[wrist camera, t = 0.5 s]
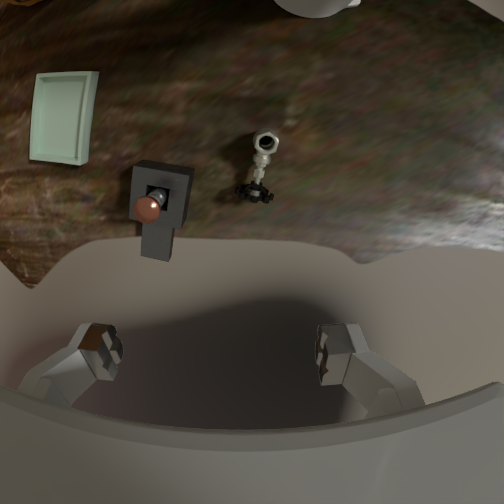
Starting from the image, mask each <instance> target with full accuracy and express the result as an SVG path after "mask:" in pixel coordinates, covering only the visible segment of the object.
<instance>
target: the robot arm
mask: <svg viewBox="0 0 504 504" xmlns="http://www.w3.org/2000/svg"><path fill="white" fill-rule="evenodd" d="M274 1H275V2H276V3H277V4H278V5H279V6H280V7H282V8H283V9H285V10H286V11H288V12H290V13H293V14H295V15H298V16H302V17H307V18H323V17H328V16H331V15H333V14H335V13H337V12H338V11H340V10H342V9H344V8H350V7H355V6H358V5H359V3H360V0H274ZM317 333H318V339H317V340H316V344H315V357H316V363H317V364H318V365H319V366H320V367H319V377H320V382H321V385H333V384H343V386H344V387H345V388H346V389H347V390H348V391H349V392H350V393H351V394H352V395H353V396H354V397H355V398H356V399H357V400H358V401H359V402H360V403H361V404H362V405H363V406H364V407H365V408H366V409H367V410H368V413H367V414H366V416H365V418H364V419H363V420H357V421H351V422H345V423H338V424H331V425H322V426H312V427H302V428H289V429H270V430H212V429H194V428H181V427H171V426H161V425H153V424H146V423H139V422H132V421H127V420H121V419H115V418H110V417H105V416H100V415H96V414H91V413H87V412H82V411H79V410H74V409H73V408H72V407H71V406H70V405H71V404H72V403H73V402H74V401H75V400H76V399H77V398H78V397H79V396H80V395H81V394H82V393H83V392H84V391H85V390H86V389H87V388H88V387H89V386H90V385H92V384H93V383H94V382H95V381H96V379H102V380H111V381H113V380H114V378H115V375H116V372H117V370H118V368H117V366H116V364H118V363H119V362H120V361H121V359H122V356H123V344H122V342H121V340H120V339H119V338H118V337H117V336H116V334H117V330H116V328H115V326H113V325H107V324H97V323H86V322H83V323H81V325H80V326H79V328H78V330H77V331H76V333H75V335H74V336H73V338H72V340H71V342H70V344H69V345H68V347H67V348H66V347H64V348H63V349H61V350H59V351H58V352H56V353H55V354H53V355H52V356H51V357H49V358H47V359H46V360H44V361H43V362H41V363H40V364H39V365H37V366H35V367H34V368H32V369H31V370H30V371H28V372H27V374H26V375H25V377H24V379H23V381H22V383H21V384H20V386H19V388H18V390H17V391H14V390H12V389H9V388H7V387H4V386H2V385H0V504H504V384H502V383H501V382H492V383H489V384H487V385H484V386H481V387H479V388H476V389H474V390H471V391H468V392H466V393H463V394H460V395H457V396H454V397H451V398H448V399H445V400H442V401H439V402H435V403H432V404H429V405H425V402H424V400H423V398H422V395H421V393H420V390H419V388H418V386H417V384H416V381H414V380H413V379H412V378H410V377H409V376H407V375H406V374H405V373H403V372H402V371H400V370H399V369H398V368H396V367H395V366H393V365H392V364H390V363H389V362H388V361H386V360H385V359H383V358H382V357H381V356H379V355H378V354H377V353H375V352H374V351H369V349H368V347H367V344H366V342H365V339H364V337H363V334H362V332H361V329H360V327H359V324H358V323H357V322H349V323H339V324H328V325H319V327H318V331H317Z"/></svg>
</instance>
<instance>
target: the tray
mask: <svg viewBox="0 0 504 504" xmlns="http://www.w3.org/2000/svg"><path fill="white" fill-rule="evenodd" d="M98 77H99V72H95V71H78V72H56V73H43V74H37V76H36V82H35V89H34V97H33V106H32V117H31V132H30V159H32V160H41V161H50V162H58V163H66V164H74V165H82V164H84V163H86V162H88V155H89V142H90V132H91V123H92V115H93V108H94V101H95V94H96V88H97V83H98Z"/></svg>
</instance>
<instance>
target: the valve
mask: <svg viewBox="0 0 504 504" xmlns="http://www.w3.org/2000/svg"><path fill="white" fill-rule="evenodd" d="M263 136H270V137H272V141H271V143H270V144H268V145H262V144H260V143H259V140H260V138H262V137H263ZM278 143H279V138H278V136H277V134H276V133H275V132H274V131H273V130H271V129H268V128H263V129H260V130H258V131H257V132H256V133H255V135H254V137H253V145H254V147H255V148H256V154H254V155H253V161H255V162H256V165H257V168H255V169H254V174H253V176H254V177H255V179H254V181H251V184H248V185H241V188H240V190H239V187H236V190H235V194H238V195H239V198H240V199H246V198H248V199H251V202H253V203H257V202H258V201H262V202H263V203H269V200H273V197H274V194H272V193H270V195H268V192H269V190H267V189H266V188H265V187H263V186H262V183H261V182H260V180H261V178H263V176H264V172H265V170H264V169H263V168H264V167H266V164H270V162H271V157H270V154H271V153H274V152H276V150H277V146H278ZM261 190H262V191H261ZM247 192H250V194H248V193H247ZM259 194H260V195H262V196H259Z"/></svg>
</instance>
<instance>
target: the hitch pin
mask: <svg viewBox="0 0 504 504" xmlns="http://www.w3.org/2000/svg"><path fill="white" fill-rule="evenodd" d="M169 192H170V189H168V188H163V187H157V186H156V187H155V188H154V189H153V191H152V192H151V193H150V194H149V195H148V196H142V197H140V198H139V199H138V200H137V201H136V202H135V204H134V206H133V213H134V216H135V217H136V219H137V220H138V221H139V222H141V223H143V224H152V223H154V222H155V221H156V220H157V219H158V217H159V216H160V214H161V206H162V205H163V204H164V202H165V201H166V200H167V198H168V197H169Z"/></svg>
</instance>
